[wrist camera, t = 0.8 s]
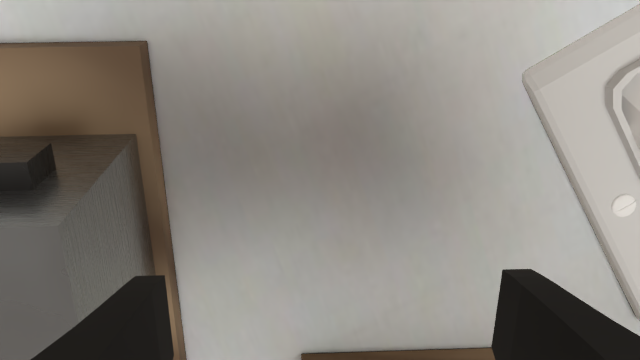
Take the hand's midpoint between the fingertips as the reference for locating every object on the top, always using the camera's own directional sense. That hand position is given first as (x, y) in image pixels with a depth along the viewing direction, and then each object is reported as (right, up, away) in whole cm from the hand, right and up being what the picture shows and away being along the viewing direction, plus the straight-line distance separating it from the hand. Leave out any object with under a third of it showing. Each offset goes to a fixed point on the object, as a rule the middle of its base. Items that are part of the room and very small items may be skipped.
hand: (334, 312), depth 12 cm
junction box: (-9, +2, +9) cm, 13 cm away
